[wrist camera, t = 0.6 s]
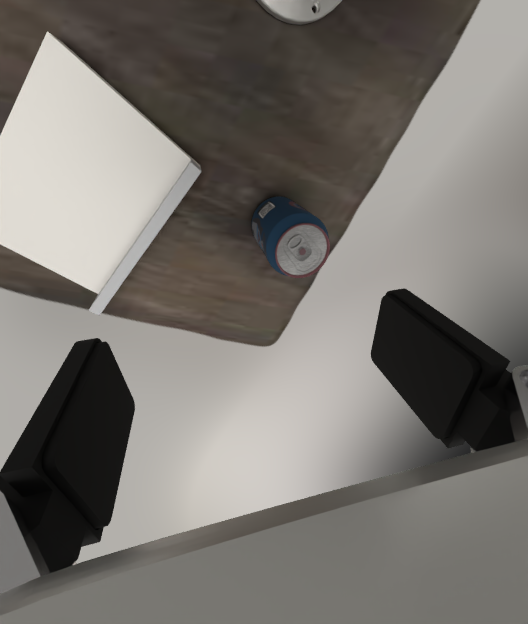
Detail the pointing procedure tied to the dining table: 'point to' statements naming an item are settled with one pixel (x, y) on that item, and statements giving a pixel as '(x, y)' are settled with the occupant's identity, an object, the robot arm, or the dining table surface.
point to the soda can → (290, 237)
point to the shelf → (84, 174)
